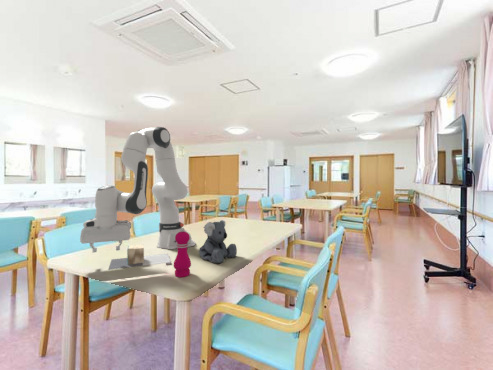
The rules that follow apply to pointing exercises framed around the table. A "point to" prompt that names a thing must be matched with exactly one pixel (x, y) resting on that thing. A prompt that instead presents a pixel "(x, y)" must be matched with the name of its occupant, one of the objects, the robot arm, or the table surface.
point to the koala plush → (216, 243)
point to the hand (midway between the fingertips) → (106, 251)
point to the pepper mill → (182, 254)
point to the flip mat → (147, 261)
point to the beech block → (135, 254)
